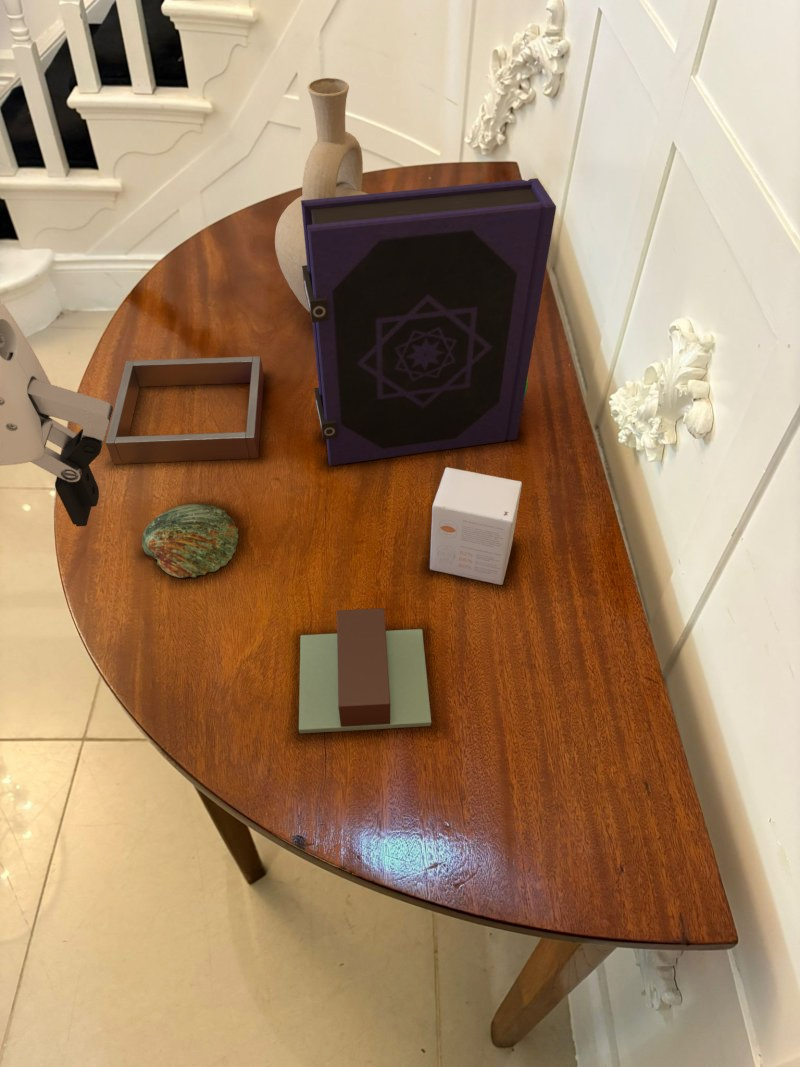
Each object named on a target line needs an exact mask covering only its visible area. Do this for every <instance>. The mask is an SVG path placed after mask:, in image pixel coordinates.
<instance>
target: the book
mask: <svg viewBox="0 0 800 1067" xmlns="http://www.w3.org/2000/svg"><path fill="white" fill-rule="evenodd" d="M301 206H302V217H303V227H304V238H305V248H306V259H307V265H305V266H302V270H303V280H304V288H305V293H306V297H307V302H308V306H309V311H310V312H309V315H310V319H311V323H312V332H313V341H314V343H313V344H314V352H315V363H316V364H315V365H316V372H317V385H318V387H314V389H313V390H314V400H315V406H316V411H317V416H318V420H319V425H320V431H321V436H322V440H323V441H326V449H327V460H328V466H330V467H332V466H336V465H337V466H338V465H345V464H351V463H352V464H353V463H359V462H366V461H373V460H380V459H387V458H396V457H401V456H408V455H416V454H422V453H423V454H424V453H430V452H437V451H445V450H452V449H458V448H459V449H460V448H465V447H473V446H474V447H475V446H480V445H487V444H494V443H495V444H496V443H501V442H505V441H515V440H518V434H519V430H520V423H521V417H522V411H523V406H524V400H525V397H524V394H525V388H526V382H527V376H528V377H529V371H530V363H531V358H532V352H533V347H534V340H535V336H536V328H537V323H538V317H539V311H540V306H541V299H542V295H543V294H542V293H543V287H544V282H545V276H546V271H547V264H548V258H549V251H550V246H551V240H552V234H553V228H554V224H555V223H554V222H555V216H556V212H557V205H556V204H555V202H554V201H553V199H552V198H551V196H550V195H549V193H548V191H547V190H546V188H545V187H544V185H543V184H542V183H541V181H540V179H539V178H537V177H536V178H529V179H527V180H525V179H515V180H505V181H504V180H502V181H494V182H493V181H492V182H484V183H483V182H482V183H481V182H480V183H471V184H462V185H461V184H460V185H452V186H451V185H450V186H449V185H448V186H441V187H430V188H429V187H428V188H420V189H419V188H418V189H409V190H398V191H386V192H376V193H367V194H364V195H354V196H343V197H333V198H322V199H311V200H301Z"/></svg>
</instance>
